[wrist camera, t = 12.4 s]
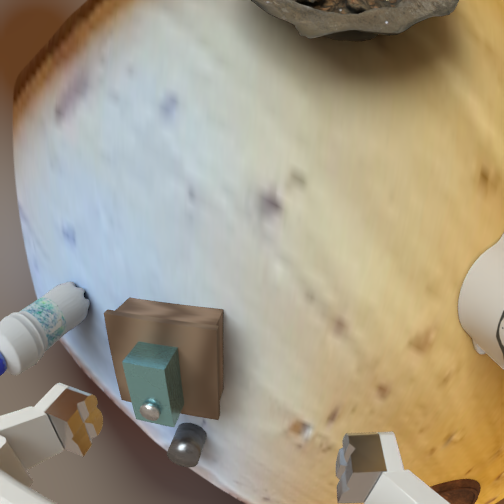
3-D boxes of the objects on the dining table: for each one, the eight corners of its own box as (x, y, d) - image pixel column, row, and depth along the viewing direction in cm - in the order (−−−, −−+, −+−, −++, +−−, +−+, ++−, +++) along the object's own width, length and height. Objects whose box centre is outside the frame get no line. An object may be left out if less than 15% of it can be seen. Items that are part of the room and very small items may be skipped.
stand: (227, 306, 40) (216, 330, 34) (226, 391, 44) (218, 419, 38) (125, 293, 41) (103, 313, 35) (137, 376, 45) (121, 399, 39)
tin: (205, 425, 46) (196, 452, 41) (207, 444, 48) (199, 469, 42) (176, 420, 47) (165, 445, 41) (179, 438, 48) (169, 463, 43)
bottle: (64, 314, 44) (-20, 382, 25) (57, 274, 42) (-39, 334, 23) (97, 322, 43) (14, 402, 24) (91, 280, 41) (-7, 350, 22)
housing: (177, 347, 35) (161, 374, 30) (184, 403, 38) (172, 431, 33) (138, 341, 36) (118, 365, 31) (148, 397, 38) (133, 423, 33)
